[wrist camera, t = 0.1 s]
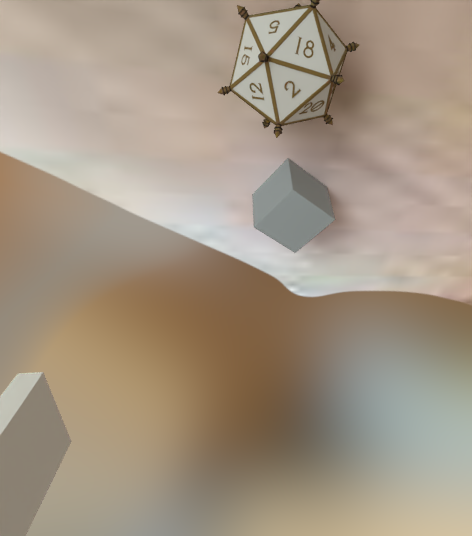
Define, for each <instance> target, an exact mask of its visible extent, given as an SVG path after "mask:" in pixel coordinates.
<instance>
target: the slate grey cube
mask: <svg viewBox="0 0 472 536" xmlns="http://www.w3.org/2000/svg"><path fill="white" fill-rule="evenodd" d="M253 218H254V228H256V229H257V230H259V231H261V232H262V233H264V234H266V235H267V236H269V237H270V238H272V239H274V240H275V241H277V242H278V243H280V244H282V245H283V246H285V247H287V248H288V249H290V250H291V251H293V252H295V253H296V252H297V251H298V250H299V249H300V248H302V247H303V246H304V245H305V244H307V243H308V242H309V241H310V240H311V239H313V238H314V237H315V236H316V235H317V234H319V233H320V232H321V231H322V230H323V229H325V228H326V227H327V226H328V225H329V224H331V223H332V222H333V221H334V220H335V217H334V213H333V209H332V205H331V201H330V197H329V193H328V189H327V187H326V186H325V185H324V184H322V183H321V182H319V181H318V180H317V179H315V178H314V177H313V176H311V175H310V174H309V173H307V172H306V171H305V170H303V169H302V168H301V167H299V166H298V165H297V164H295V163H294V162H293V161H291V160H290V159H289V158H288V159H287V160H286V161H285V162H284V163H283V164H282V165H281V166H280V167H279V168H278V169H277V170H276V171H275V172H274V173H273V174H272V175H271V176H270V177H269V178H268V179H267V180H266V181H265V182H264V183H263V184H262V185H261V186H260V187H259V188H258V189H257V190H256V191H255V193H254V194H253Z"/></svg>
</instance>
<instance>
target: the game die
mask: <svg viewBox="0 0 472 536" xmlns="http://www.w3.org/2000/svg"><path fill="white" fill-rule="evenodd" d="M319 1H320V0H311V5H307V6H300V4H299V3H298V4H297V5H296V6H295V7H294V8H289V9H284V10H278V11H272V12H267V13H261V14H255V15H248V13H247V10H246V9H245V7H241V6H238V5H237V7H238V12H239V13H238V14H240V15H241V17H243V18H244V19H245V23H244V27H243V31H242V36H241V40H240V44H239V49H238V53H237V57H236V62H235V66H234V70H233V74H232V79H231V83H230V86H229V87H226V86H225V87H222V88H221V89H220V90H219V92H218V93H220V94H223V95H225V94H228V93H229V92H230V91H232V92H233V93H234V94H236V95H237V96H238V97H239V98H241V99H242V100H243V101H244V102H246V103H247V104H248V105H250V106H251V107H252V108H253V109H255V110H256V111H257V112H258V113H260V114H261V115H262V116H263V117H265V118H266V119H264V122H262V123H263V125H264V128H266V127H268V126H269V125H270V122H272V123H274V124H275V125H276V127H275V130H274V134H275V135H276V138H277V137H278V136H279V135H280V134H282V128H281V126H284V125H288V124H293V123H297V122H302V121H306V120H311V119H315V118H320V117H323V118H324V121H325V122H326V124H331V125H333V122H332V119H333V118H331V117H330V115H327V112H328V109H329V106H330V102H331V99H332V96H333V93H334V90H335V87H336V84H337V85H339V84H340V83H342V82H343V81H344V80H343V78H342V75H340V72H341V69H342V66H343V63H344V60H345V57H346V54H347V52H348V51H350V52H352V51H355V50H356V48H357V47H358V46H359V44H356V43H354V42H352V43H351V44H350V43H349V45H348V46H345V45H344V43H343V42H342V41H341V40H340V38H339V37H338V36H337V34H336V33H335V32H334V31H333V29H332V28H331V27H330V25H329V24H328V23H327V22H326V20H325V19H324V18H323V16H322V15H321V14H320V13H319V11H318V10H317V9H316V6H317V5H318V4H319Z"/></svg>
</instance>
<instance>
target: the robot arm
mask: <svg viewBox="0 0 472 536" xmlns="http://www.w3.org/2000/svg"><path fill="white" fill-rule="evenodd" d="M70 443H71V439H70V437H69V434H68V432H67V429H66V427H65V425H64V422H63V420H62V417H61V415H60V412H59V410H58V407H57V405H56V402H55V400H54V397H53V395H52V393H51V390H50V388H49V385H48V383H47V380H46V378H45V375H44V373H43V372H41V373H40V372H39V373H21V374H17V375H16V376H15V378H14V379H13V380H12V382H11V383H10V384H9V386H8V387H7V388H6V390H5V391H4V392H3V394H2V395H1V396H0V536H26V534H27V532H28V530H29V528H30V526H31V523H32V521H33V519H34V517H35V515H36V513H37V511H38V509H39V507H40V505H41V503H42V501H43V499H44V497H45V495H46V492H47V490H48V489H49V486H50V484H51V482H52V480H53V478H54V476H55V474H56V472H57V470H58V468H59V466H60V463H61V462H62V460H63V458H64V456H65V454H66V451H67V449H68V447H69V445H70Z"/></svg>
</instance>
